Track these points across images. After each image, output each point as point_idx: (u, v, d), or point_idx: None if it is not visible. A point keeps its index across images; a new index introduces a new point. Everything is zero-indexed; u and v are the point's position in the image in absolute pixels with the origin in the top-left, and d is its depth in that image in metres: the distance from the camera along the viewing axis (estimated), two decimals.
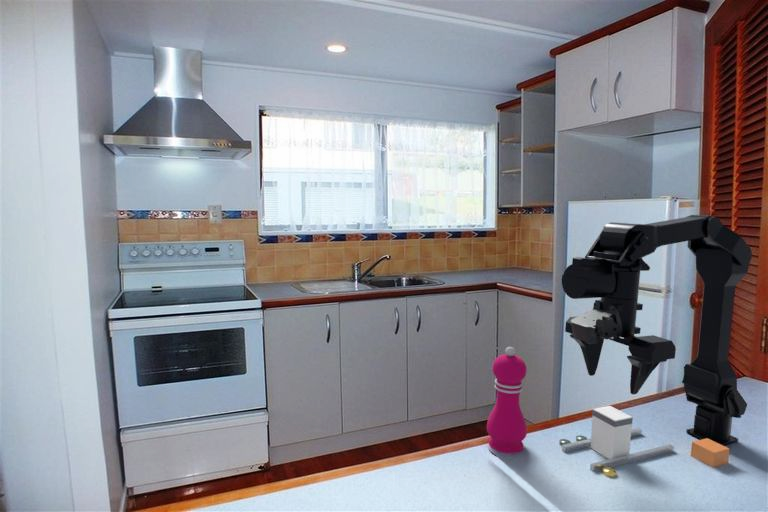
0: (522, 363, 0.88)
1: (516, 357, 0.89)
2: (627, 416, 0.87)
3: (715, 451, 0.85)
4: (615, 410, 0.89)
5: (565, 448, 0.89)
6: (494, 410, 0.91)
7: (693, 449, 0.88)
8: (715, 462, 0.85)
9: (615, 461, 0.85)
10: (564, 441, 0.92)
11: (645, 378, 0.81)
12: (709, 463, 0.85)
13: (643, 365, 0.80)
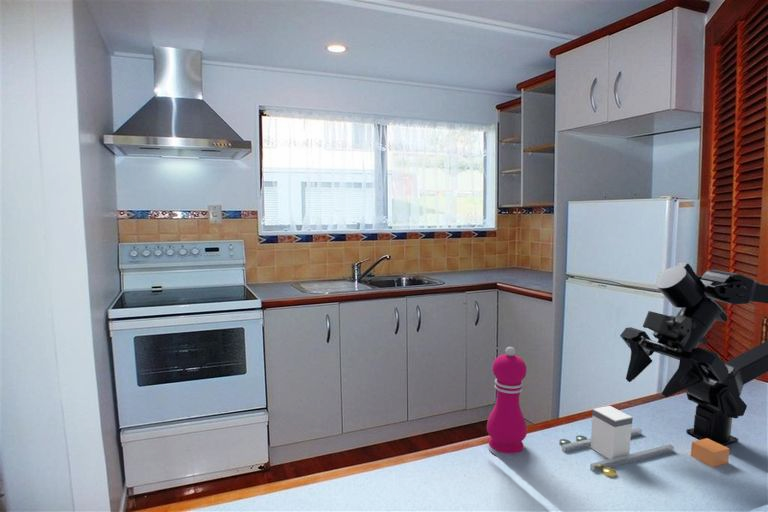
0: (522, 363, 0.88)
1: (516, 357, 0.89)
2: (627, 416, 0.87)
3: (715, 451, 0.85)
4: (615, 410, 0.89)
5: (565, 448, 0.89)
6: (494, 410, 0.91)
7: (693, 449, 0.88)
8: (715, 462, 0.85)
9: (615, 461, 0.85)
10: (564, 441, 0.92)
11: (681, 388, 0.87)
12: (709, 463, 0.85)
13: (686, 375, 0.87)
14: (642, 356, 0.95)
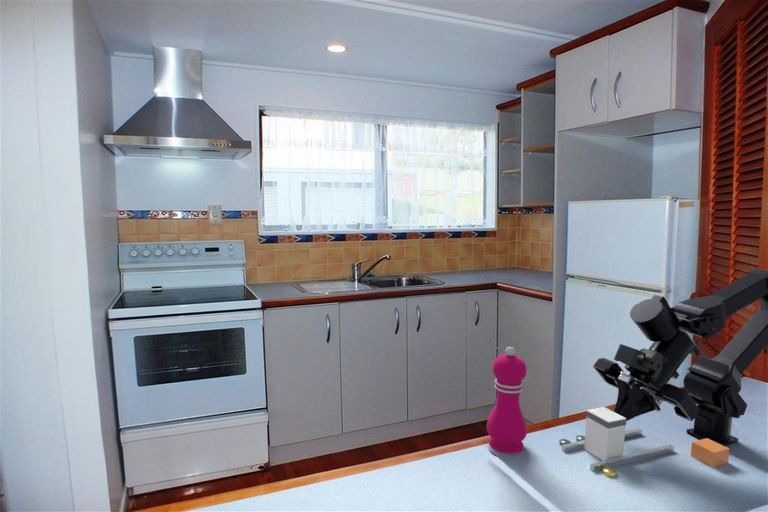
0: (522, 363, 0.88)
1: (516, 357, 0.89)
2: (621, 417, 0.86)
3: (715, 451, 0.85)
4: (609, 411, 0.89)
5: (565, 448, 0.89)
6: (494, 410, 0.91)
7: (693, 449, 0.88)
8: (715, 462, 0.85)
9: (615, 461, 0.85)
10: (564, 441, 0.92)
11: (632, 416, 0.88)
12: (709, 463, 0.85)
13: (638, 403, 0.88)
14: (630, 396, 0.90)
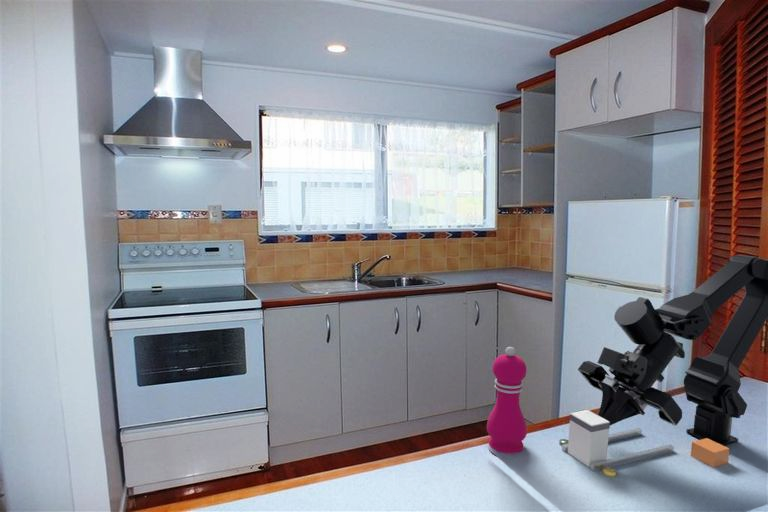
0: (522, 363, 0.88)
1: (516, 357, 0.89)
2: (604, 421, 0.85)
3: (715, 451, 0.85)
4: (593, 414, 0.87)
5: (565, 448, 0.89)
6: (494, 410, 0.91)
7: (693, 449, 0.88)
8: (715, 462, 0.85)
9: (615, 461, 0.85)
10: (564, 441, 0.92)
11: (616, 420, 0.87)
12: (709, 463, 0.85)
13: (622, 407, 0.87)
14: (614, 400, 0.89)
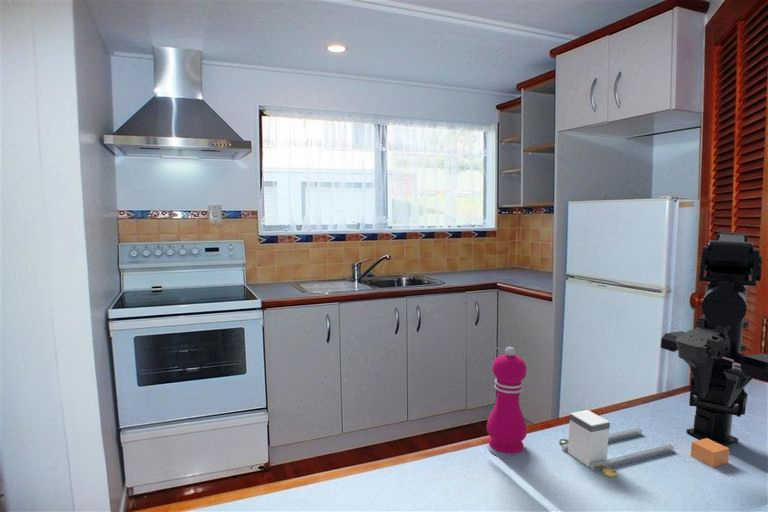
0: (522, 363, 0.88)
1: (516, 357, 0.89)
2: (604, 421, 0.85)
3: (715, 451, 0.85)
4: (593, 414, 0.87)
5: (565, 448, 0.89)
6: (494, 410, 0.91)
7: (693, 449, 0.88)
8: (715, 462, 0.85)
9: (615, 461, 0.85)
10: (564, 441, 0.92)
11: (740, 391, 0.83)
12: (709, 463, 0.85)
13: (738, 378, 0.82)
14: (702, 364, 0.88)
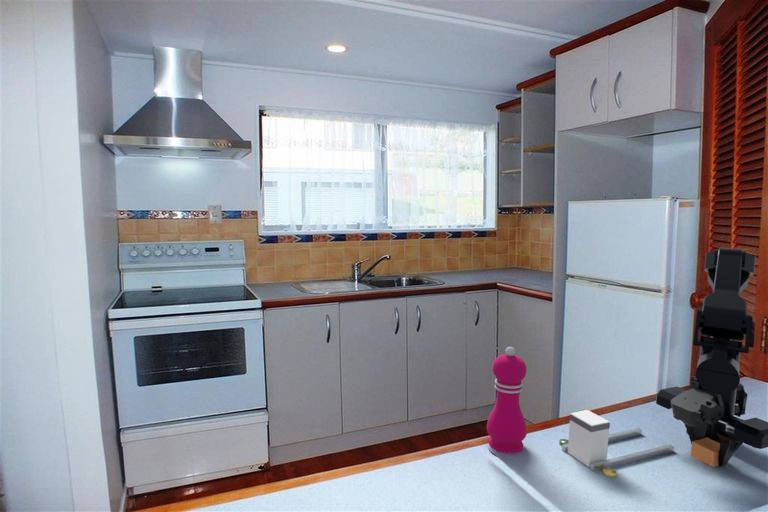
0: (522, 363, 0.88)
1: (516, 357, 0.89)
2: (604, 421, 0.85)
3: (715, 450, 0.85)
4: (593, 414, 0.87)
5: (565, 448, 0.89)
6: (494, 410, 0.91)
7: (693, 448, 0.88)
8: (715, 462, 0.85)
9: (615, 461, 0.85)
10: (564, 441, 0.92)
11: (733, 452, 0.84)
12: (709, 463, 0.85)
13: None
14: None
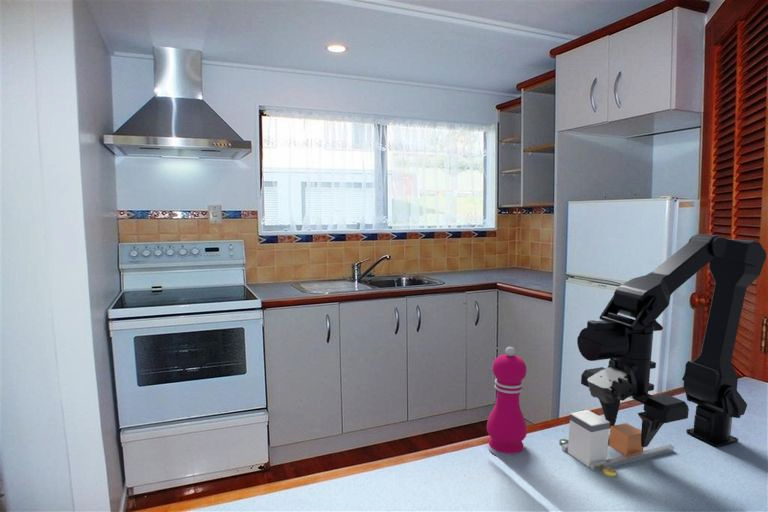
0: (522, 363, 0.88)
1: (516, 357, 0.89)
2: (604, 421, 0.85)
3: (629, 435, 0.88)
4: (593, 414, 0.87)
5: (565, 448, 0.89)
6: (494, 410, 0.91)
7: (611, 433, 0.91)
8: (629, 446, 0.88)
9: (615, 461, 0.85)
10: (564, 441, 0.92)
11: (655, 432, 0.86)
12: (624, 446, 0.88)
13: None
14: None
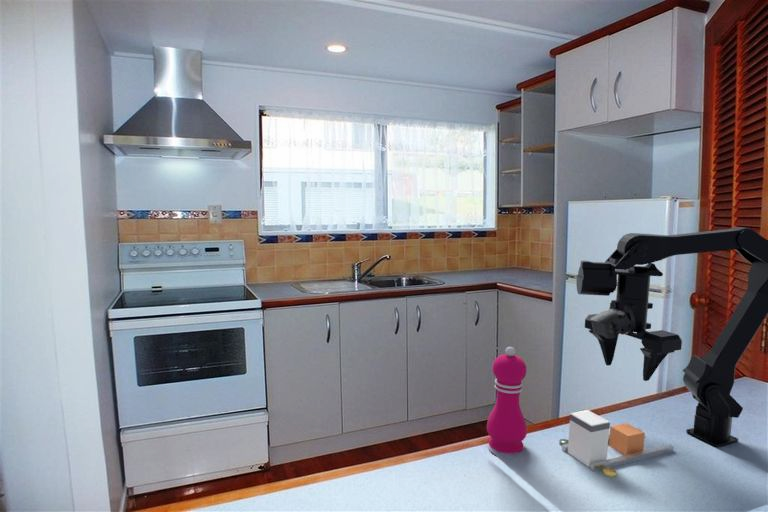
0: (522, 363, 0.88)
1: (516, 357, 0.89)
2: (604, 421, 0.85)
3: (629, 435, 0.88)
4: (593, 414, 0.87)
5: (565, 448, 0.89)
6: (494, 410, 0.91)
7: (611, 433, 0.91)
8: (629, 446, 0.88)
9: (615, 461, 0.85)
10: (564, 441, 0.92)
11: (656, 367, 0.94)
12: (624, 446, 0.88)
13: (654, 356, 0.94)
14: (608, 338, 1.03)
